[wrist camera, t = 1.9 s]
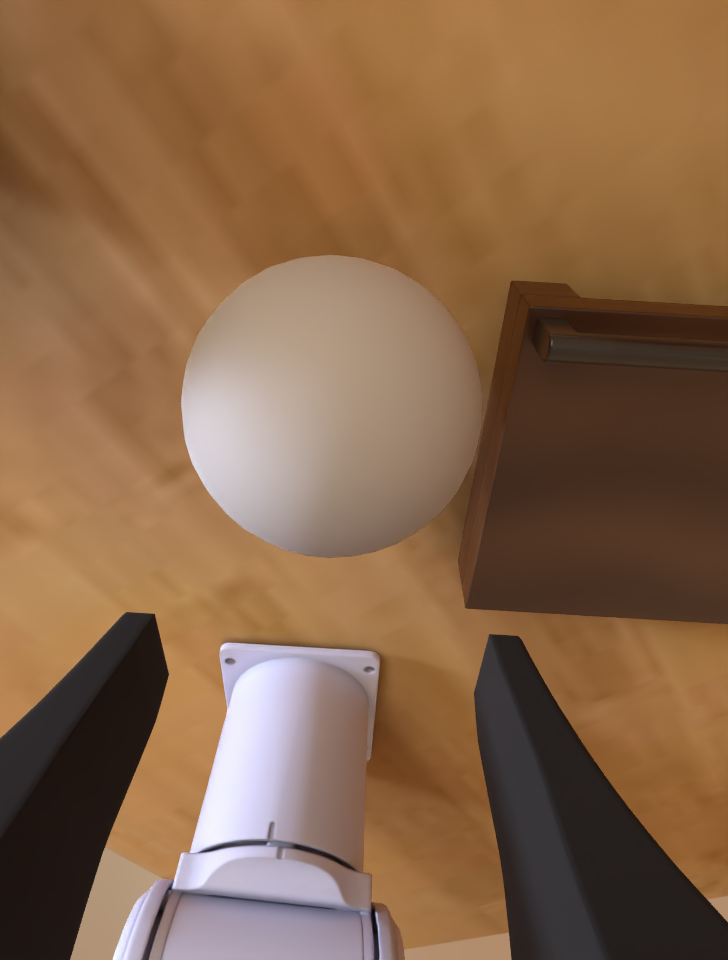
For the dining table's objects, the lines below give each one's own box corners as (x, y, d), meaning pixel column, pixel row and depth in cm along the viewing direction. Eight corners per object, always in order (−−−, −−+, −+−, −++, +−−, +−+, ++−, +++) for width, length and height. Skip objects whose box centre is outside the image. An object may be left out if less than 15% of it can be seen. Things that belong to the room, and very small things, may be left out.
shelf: (799, 581, 24) (872, 665, 21) (457, 561, 24) (470, 641, 21) (981, 307, 18) (1136, 358, 14) (510, 280, 18) (543, 324, 14)
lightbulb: (235, 222, 17) (60, 351, 8) (434, 179, 16) (496, 269, 7) (288, 400, 20) (207, 638, 11) (455, 373, 19) (516, 604, 10)
